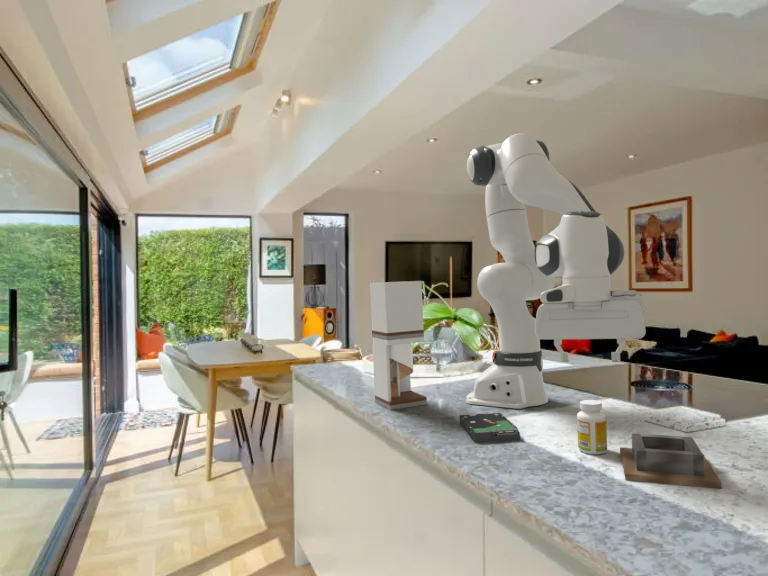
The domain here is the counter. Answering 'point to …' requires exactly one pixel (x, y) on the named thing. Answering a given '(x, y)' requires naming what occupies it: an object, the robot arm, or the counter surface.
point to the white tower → (396, 341)
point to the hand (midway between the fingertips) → (589, 361)
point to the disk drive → (489, 428)
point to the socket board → (667, 461)
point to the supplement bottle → (591, 428)
